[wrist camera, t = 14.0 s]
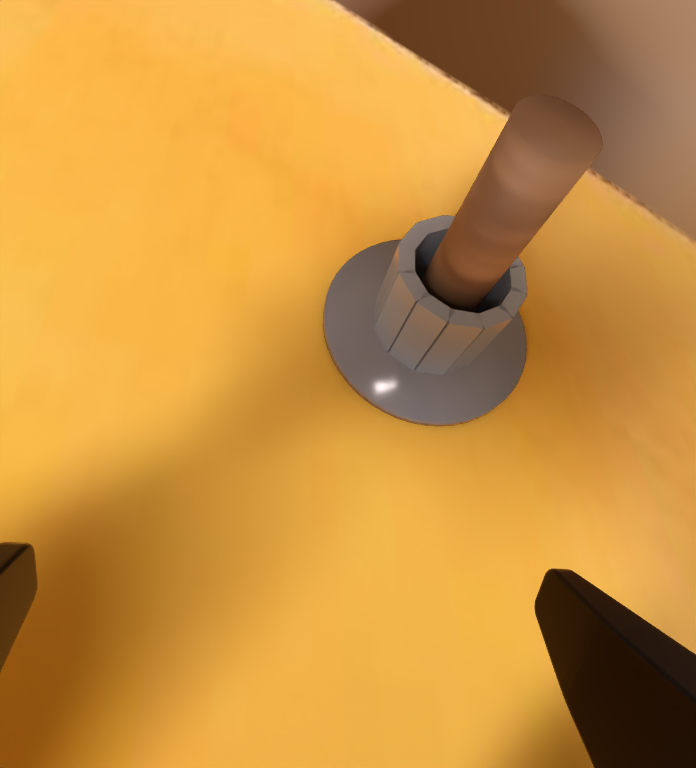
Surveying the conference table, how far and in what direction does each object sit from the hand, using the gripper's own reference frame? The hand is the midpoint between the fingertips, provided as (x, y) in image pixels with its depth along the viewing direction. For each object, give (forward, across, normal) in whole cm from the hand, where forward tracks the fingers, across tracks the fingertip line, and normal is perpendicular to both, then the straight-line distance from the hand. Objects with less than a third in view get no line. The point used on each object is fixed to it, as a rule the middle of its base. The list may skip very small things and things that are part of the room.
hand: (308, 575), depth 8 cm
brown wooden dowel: (+19, -7, -1) cm, 20 cm away
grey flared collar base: (+20, -7, 0) cm, 21 cm away
